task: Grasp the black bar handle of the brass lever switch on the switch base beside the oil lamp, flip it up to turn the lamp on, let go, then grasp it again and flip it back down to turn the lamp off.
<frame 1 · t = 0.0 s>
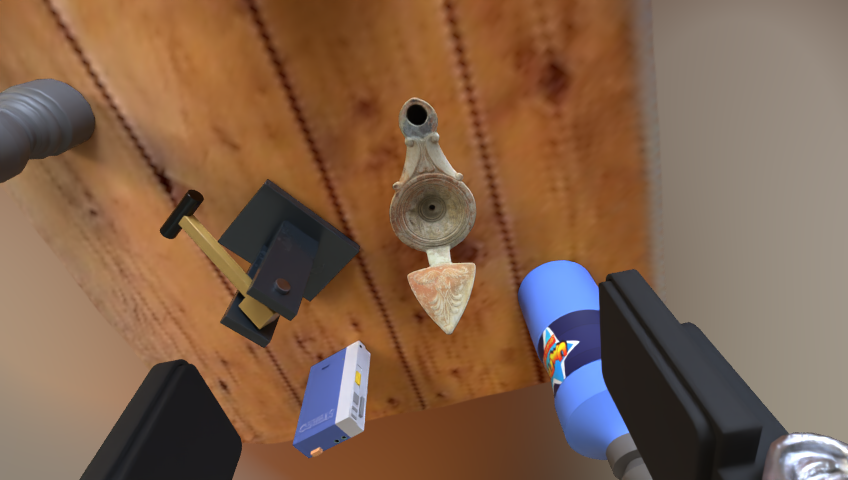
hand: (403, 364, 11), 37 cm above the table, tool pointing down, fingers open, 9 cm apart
walkman: (340, 358, 59), on the table
switch base: (291, 241, 51), on the table
switch lever: (225, 262, 41), point 9 cm above the table, hinge at -25.0°
candle holder: (60, 112, 43), on the table
water bottle: (554, 291, 56), on the table
oil lamp: (430, 193, 49), on the table
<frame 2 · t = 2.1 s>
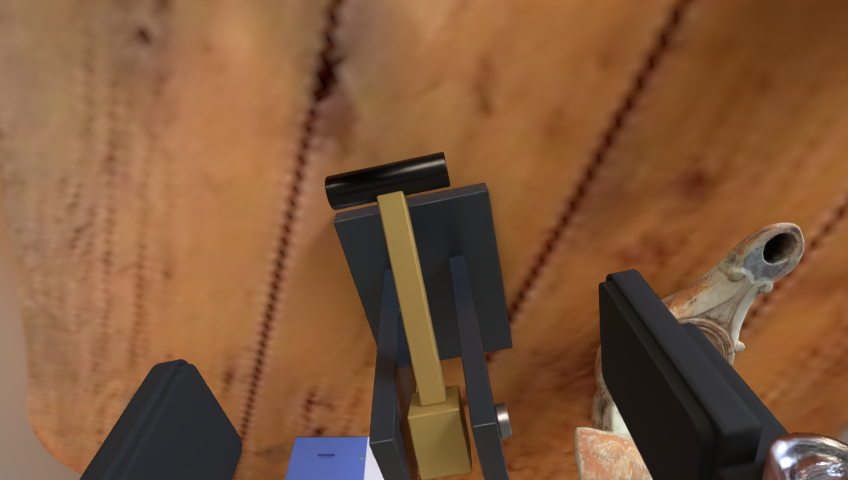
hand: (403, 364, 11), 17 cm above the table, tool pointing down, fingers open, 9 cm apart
walkman: (344, 444, 38), on the table
switch base: (430, 279, 30), on the table
switch lever: (416, 316, 20), point 9 cm above the table, hinge at -25.0°
oil lamp: (648, 325, 33), on the table
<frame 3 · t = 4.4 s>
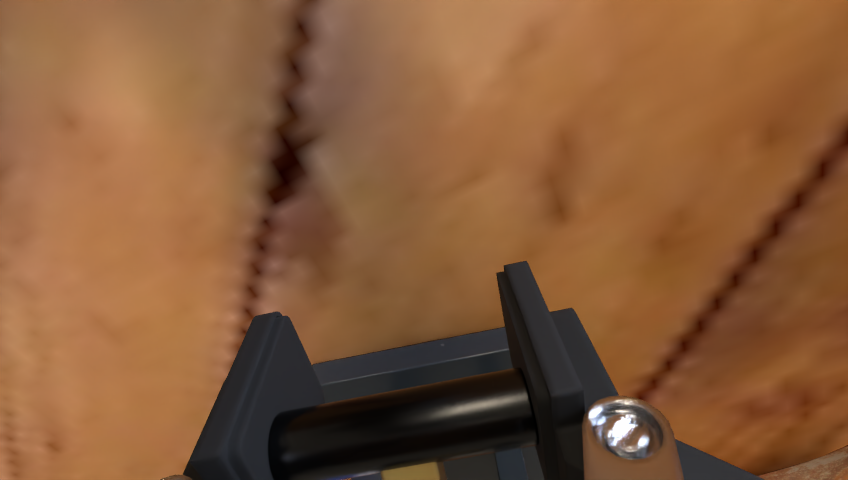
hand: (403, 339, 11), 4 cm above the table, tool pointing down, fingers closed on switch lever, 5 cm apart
switch base: (457, 443, 20), on the table
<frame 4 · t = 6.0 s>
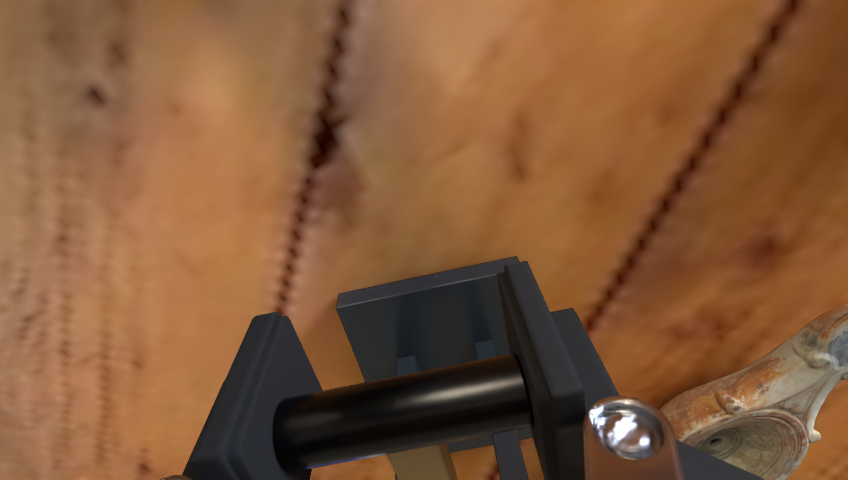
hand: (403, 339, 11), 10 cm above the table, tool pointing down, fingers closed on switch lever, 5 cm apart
switch base: (449, 362, 26), on the table
oil lamp: (699, 403, 28), on the table
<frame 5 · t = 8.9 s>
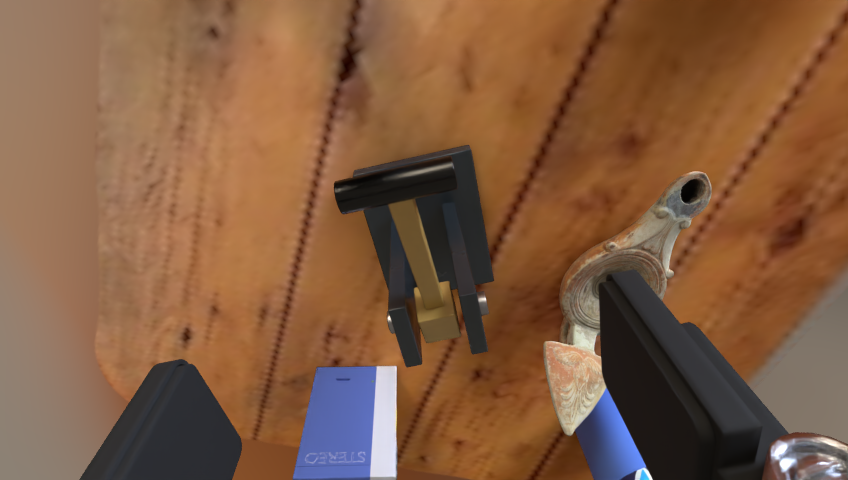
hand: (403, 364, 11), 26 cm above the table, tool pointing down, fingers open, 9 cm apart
walkman: (357, 374, 46), on the table
switch base: (427, 225, 38), on the table
switch lever: (421, 264, 24), point 13 cm above the table, hinge at 21.8°
water bottle: (613, 413, 50), on the table
oil lamp: (602, 264, 41), on the table
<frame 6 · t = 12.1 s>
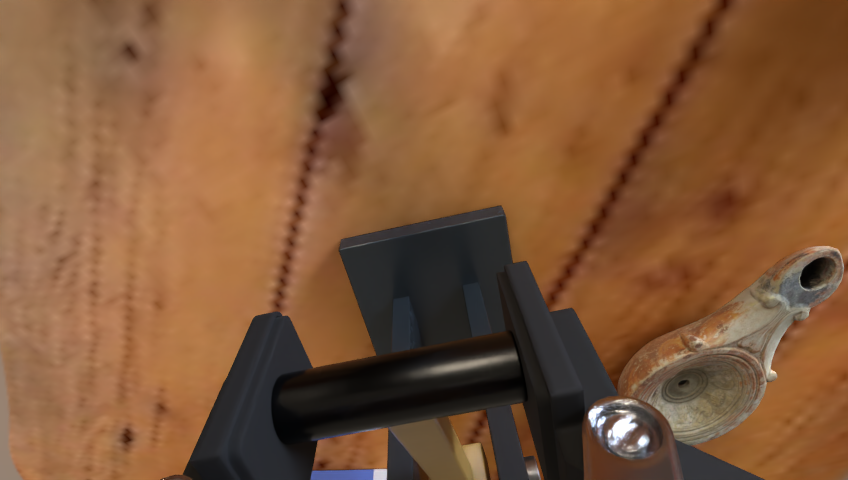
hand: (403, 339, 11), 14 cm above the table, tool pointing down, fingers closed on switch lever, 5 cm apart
walkman: (348, 477, 36), on the table
switch base: (441, 307, 28), on the table
switch lever: (442, 455, 14), point 13 cm above the table, hinge at 21.8°, touching gripper
oil lamp: (671, 351, 31), on the table
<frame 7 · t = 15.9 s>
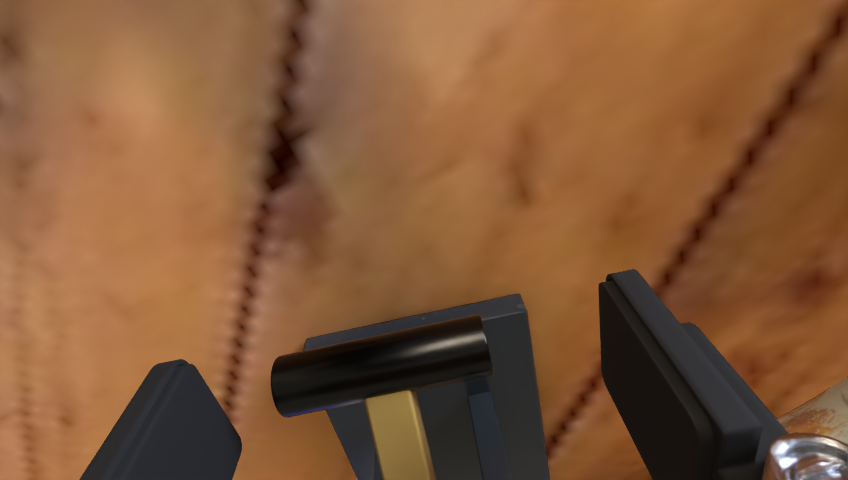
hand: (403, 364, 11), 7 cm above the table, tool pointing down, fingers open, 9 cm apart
switch base: (440, 413, 22), on the table
oil lamp: (726, 453, 25), on the table
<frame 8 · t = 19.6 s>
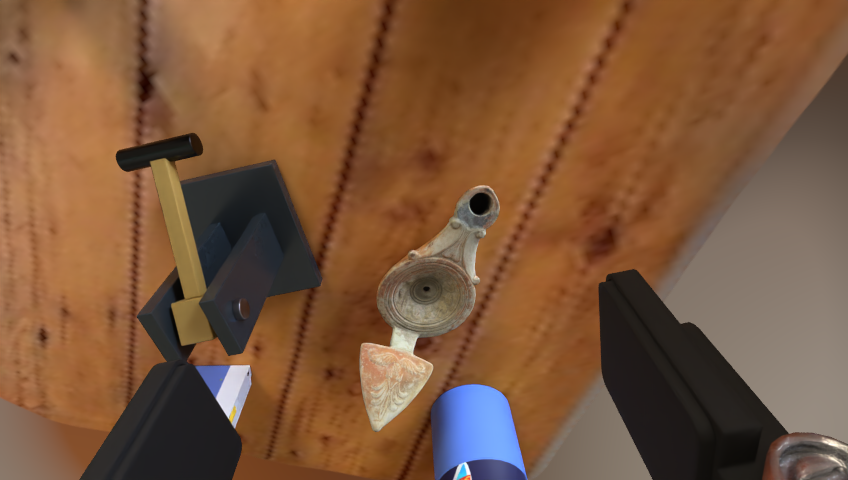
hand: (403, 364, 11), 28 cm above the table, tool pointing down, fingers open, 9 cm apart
walkman: (214, 373, 49), on the table
switch base: (251, 234, 40), on the table
switch lever: (182, 241, 30), point 9 cm above the table, hinge at -25.0°
water bottle: (469, 411, 53), on the table
oil lamp: (428, 270, 43), on the table
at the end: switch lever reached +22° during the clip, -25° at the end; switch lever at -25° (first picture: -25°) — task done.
